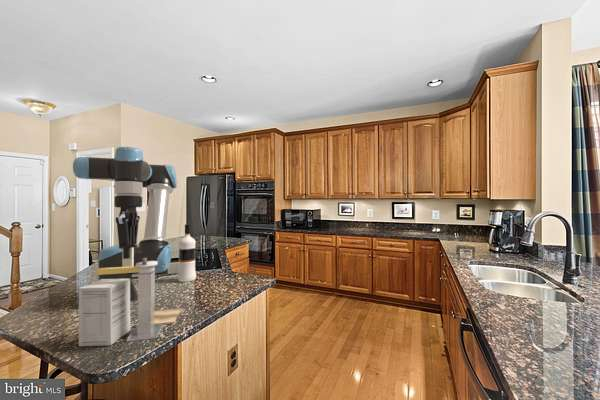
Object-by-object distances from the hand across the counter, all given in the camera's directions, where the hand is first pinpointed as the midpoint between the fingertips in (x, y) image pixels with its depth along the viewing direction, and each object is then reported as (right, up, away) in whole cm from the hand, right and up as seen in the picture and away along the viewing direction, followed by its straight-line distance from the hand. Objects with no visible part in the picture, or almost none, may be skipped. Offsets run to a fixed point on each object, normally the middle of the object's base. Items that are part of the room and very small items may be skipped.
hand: (127, 268), depth 82 cm
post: (+7, -20, -2) cm, 21 cm away
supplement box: (-4, -20, -5) cm, 21 cm away
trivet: (+5, -20, +9) cm, 23 cm away
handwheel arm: (+2, -1, -3) cm, 4 cm away
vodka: (-5, -21, +55) cm, 59 cm away
